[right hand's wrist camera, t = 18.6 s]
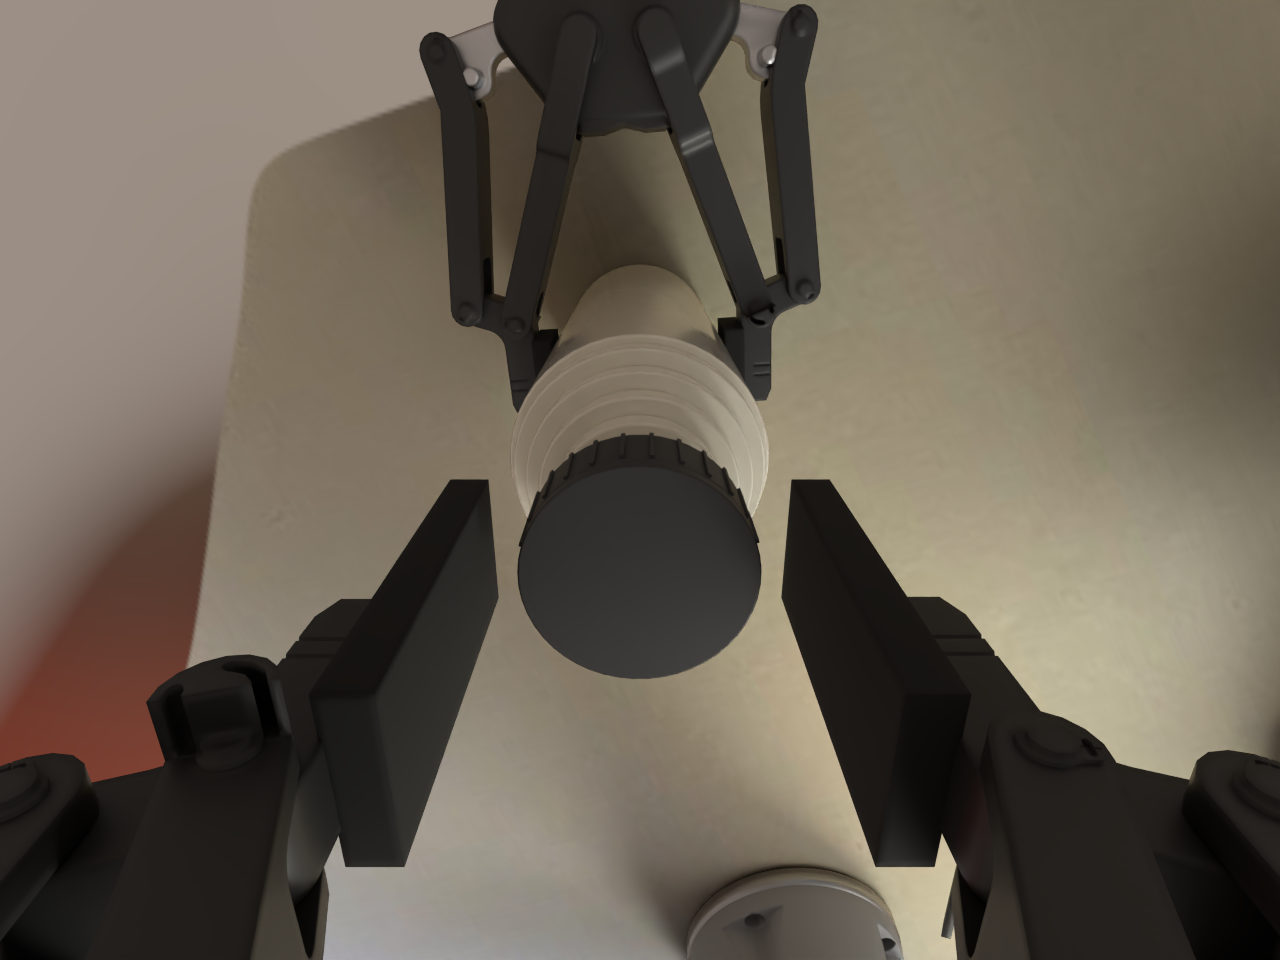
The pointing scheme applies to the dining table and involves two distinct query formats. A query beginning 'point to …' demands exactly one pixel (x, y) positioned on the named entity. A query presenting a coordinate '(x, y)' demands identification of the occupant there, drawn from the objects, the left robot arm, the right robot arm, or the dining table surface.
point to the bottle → (639, 384)
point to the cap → (639, 558)
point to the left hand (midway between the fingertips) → (647, 476)
